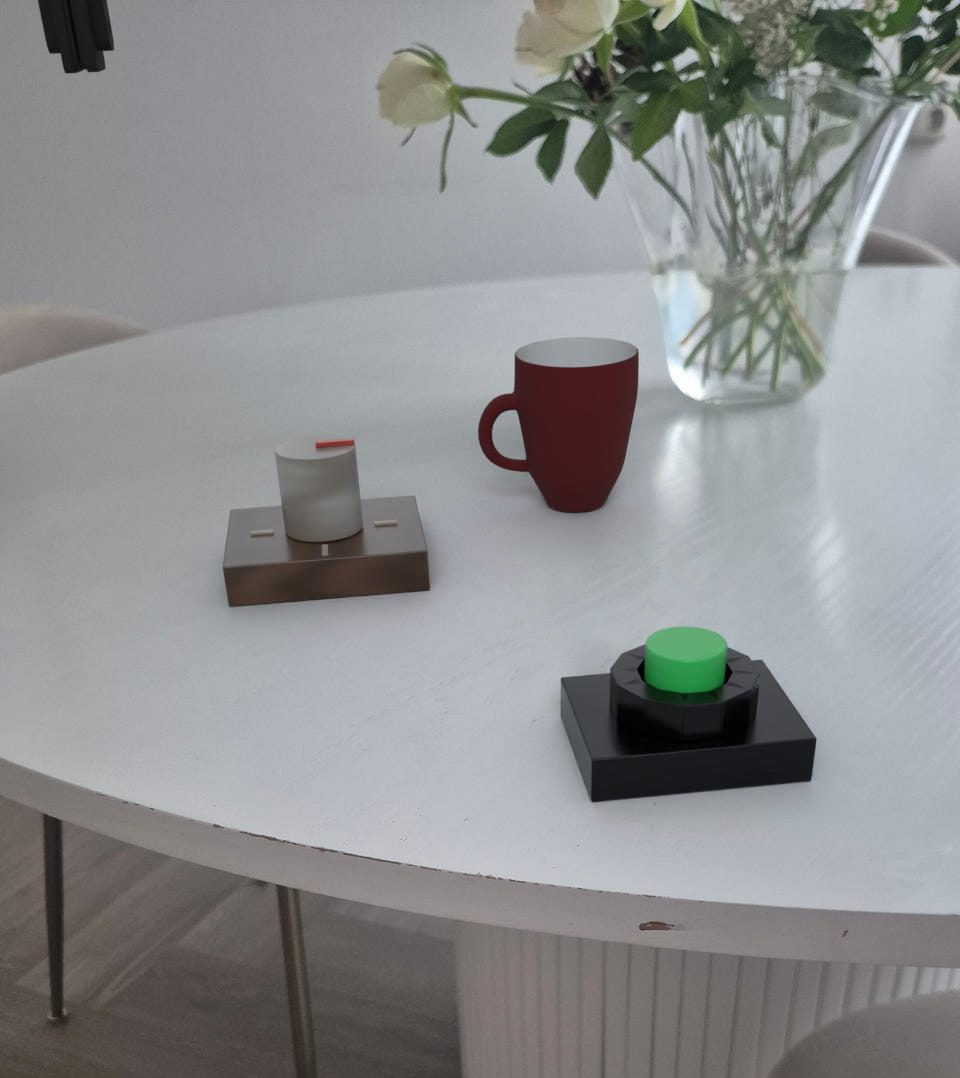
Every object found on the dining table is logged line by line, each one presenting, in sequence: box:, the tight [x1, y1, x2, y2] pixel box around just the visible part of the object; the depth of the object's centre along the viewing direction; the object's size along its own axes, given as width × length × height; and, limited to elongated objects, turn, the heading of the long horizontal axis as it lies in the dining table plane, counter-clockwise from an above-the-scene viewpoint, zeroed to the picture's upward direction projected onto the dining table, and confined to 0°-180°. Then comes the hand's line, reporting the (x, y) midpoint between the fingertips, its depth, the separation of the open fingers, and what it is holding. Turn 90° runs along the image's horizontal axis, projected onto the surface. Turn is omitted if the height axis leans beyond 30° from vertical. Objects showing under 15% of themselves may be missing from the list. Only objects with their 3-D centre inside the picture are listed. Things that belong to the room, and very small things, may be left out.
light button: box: [644, 626, 728, 693], centre depth 57 cm, size 4×4×2 cm
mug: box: [477, 336, 640, 513], centre depth 84 cm, size 10×8×10 cm
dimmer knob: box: [274, 434, 363, 542], centre depth 76 cm, size 5×5×5 cm
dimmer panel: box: [222, 495, 431, 607], centre depth 78 cm, size 12×10×3 cm
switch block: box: [560, 644, 818, 803], centre depth 58 cm, size 10×8×4 cm
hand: (85, 70), depth 61 cm, fingers closed
